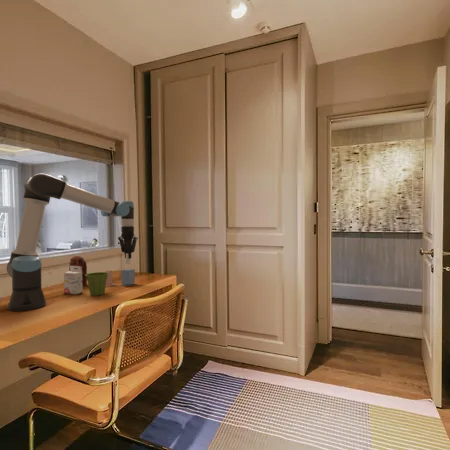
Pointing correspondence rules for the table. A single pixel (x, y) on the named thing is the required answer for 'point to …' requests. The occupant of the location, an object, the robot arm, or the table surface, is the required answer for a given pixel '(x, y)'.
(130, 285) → the post
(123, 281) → the grey upright block
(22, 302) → the robot arm
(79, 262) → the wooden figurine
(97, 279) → the plant pot
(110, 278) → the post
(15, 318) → the table surface
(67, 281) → the ink cartridge box
